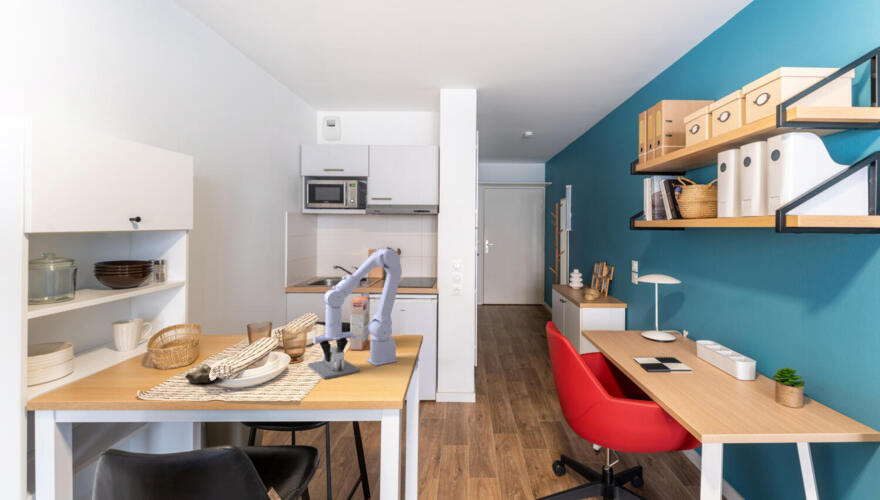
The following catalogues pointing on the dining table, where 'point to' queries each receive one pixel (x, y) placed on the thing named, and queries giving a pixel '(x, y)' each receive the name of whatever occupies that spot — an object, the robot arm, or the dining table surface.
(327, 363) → the grey block
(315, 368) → the pin tray
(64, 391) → the dining table surface
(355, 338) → the cracker box
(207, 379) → the fossilized seashell
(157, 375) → the dining table surface
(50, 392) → the dining table surface
